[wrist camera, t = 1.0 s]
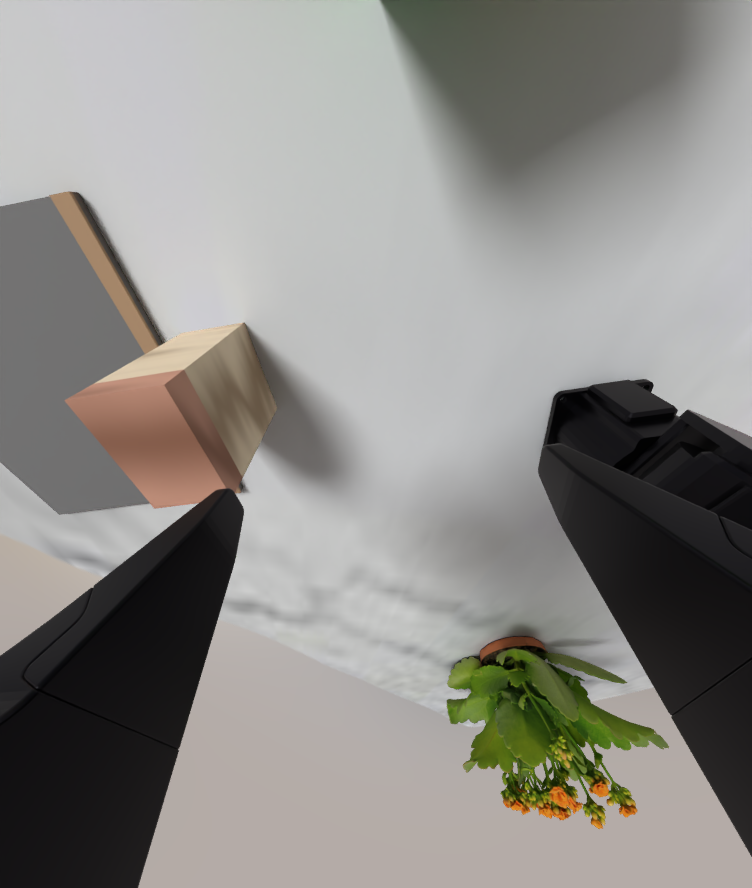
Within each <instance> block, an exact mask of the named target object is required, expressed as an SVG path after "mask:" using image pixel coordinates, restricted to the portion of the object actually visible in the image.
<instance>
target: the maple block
mask: <svg viewBox="0 0 752 888" xmlns="http://www.w3.org/2000/svg"><path fill="white" fill-rule="evenodd" d="M64 401H65V402H66V403H67V404H68V406H69V407H70V408H71V409H72V410H73V412H74V413H75V414H76V415H77V416H78V418H79V419H80V420H81V421H82V422H83V424H84V425H85V426H86V427H87V428H88V430H89V431H90V432H91V433H92V434H93V436H94V437H95V438H96V439H97V440H98V441H99V443H100V444H101V445H102V446H103V447H104V449H105V450H106V451H107V452H108V453H109V455H110V456H111V457H112V458H113V459H114V461H115V462H116V463H117V464H118V465H119V467H120V468H121V469H122V470H123V471H124V473H125V474H126V475H127V476H128V477H129V479H130V480H131V481H132V482H133V483H134V485H135V486H136V487H137V488H138V489H139V491H140V492H141V493H142V494H143V495H144V497H145V498H146V499H147V500H148V501H149V502H150V504H151V505H152V506H153V507H154V508H163V507H171V506H178V505H186V504H194V503H200V502H201V501H203V500H204V499H205V498H206V497H208V496H209V495H210V494H211V493H213V492H214V491H215V490H218V489H225V488H230V489H232V490H233V491H234V493H235V492H236V490H237V488H238V486H239V484H240V482H241V480H242V478H243V476H244V474H245V472H246V470H247V468H248V466H249V464H250V462H251V460H252V458H253V456H254V454H255V452H256V450H257V448H258V446H259V444H260V442H261V440H262V438H263V436H264V434H265V432H266V430H267V428H268V426H269V424H270V422H271V420H272V418H273V416H274V414H275V412H276V410H277V406H276V404H275V401H274V399H273V396H272V393H271V391H270V388H269V386H268V383H267V380H266V378H265V375H264V373H263V370H262V367H261V365H260V362H259V360H258V357H257V354H256V352H255V349H254V347H253V344H252V341H251V339H250V336H249V334H248V331H247V328H246V326H245V323H239V324H233V325H227V326H221V327H215V328H209V329H203V330H197V331H191V332H185V333H181V334H180V335H178V336H176V337H174V338H173V339H171V340H169V341H167V342H166V343H164V344H162V345H160V346H159V347H157V348H155V349H153V350H152V351H150V352H148V353H146V354H145V355H143V356H141V357H139V358H138V359H136V360H134V361H132V362H131V363H129V364H127V365H125V366H124V367H122V368H120V369H118V370H117V371H115V372H113V373H111V374H110V375H108V376H106V377H104V378H103V379H101V380H99V381H97V382H96V383H94V384H92V385H90V386H89V387H87V388H85V389H83V390H82V391H80V392H78V393H76V394H75V395H73V396H71V397H70V398H68V399H66V400H64Z"/></svg>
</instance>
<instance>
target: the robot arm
mask: <svg viewBox="0 0 752 888" xmlns="http://www.w3.org/2000/svg"><path fill="white" fill-rule="evenodd" d="M642 387H643V388H642ZM652 389H653V383H652V382H650V381H649V380H647V379H642V380H635V381H630V380H624V381H617V382H610V383H603V384H596V385H592V386H590V387H586V388H579V389H572V390H564V391H560V392H558V393H557V394H556V395H555V396H554V398H553V403H552V408H551V413H550V417H549V422H548V427H547V431H546V436H545V441H544V445H543V448H542V452H541V457H540V462H539V467H538V473H539V476H540V479H541V481H542V483H543V486H544V488H545V490H546V493H547V495H548V497H549V500H550V502H551V504H552V507H553V509H554V511H555V514H556V516H557V518H558V520H559V522H560V524H561V526H562V528H563V530H564V532H565V533H566V535H567V537H568V539H569V540H570V542H571V544H572V546H573V547H574V549H575V551H576V553H577V554H578V556H579V558H580V559H581V561H582V563H583V565H584V566H585V568H586V570H587V572H588V573H589V575H590V577H591V579H592V580H593V582H594V584H595V585H596V587H597V589H598V591H599V592H600V594H601V596H602V598H603V599H604V601H605V603H606V605H607V606H608V608H609V610H610V611H611V613H612V615H613V617H614V618H615V620H616V622H617V624H618V625H619V627H620V629H621V631H622V632H623V634H624V636H625V637H626V639H627V641H628V643H629V644H630V646H631V648H632V650H633V651H634V653H635V655H636V657H637V658H638V660H639V662H640V663H641V665H642V667H643V669H644V670H645V672H646V674H647V676H648V677H649V679H650V681H651V683H652V684H653V686H654V688H655V689H656V691H657V693H658V695H659V696H660V698H661V700H662V702H663V703H664V705H665V707H666V709H667V710H668V712H669V713H670V715H672V719H673V721H674V723H675V724H676V726H677V728H678V730H679V731H680V733H681V735H682V737H683V739H684V740H685V742H686V744H687V745H688V747H689V749H690V751H691V752H692V754H693V756H694V758H695V759H696V761H697V763H698V765H699V766H700V768H701V770H702V771H703V773H704V775H705V777H706V778H707V780H708V782H709V783H710V785H711V787H712V789H713V791H714V792H715V794H716V796H717V797H718V799H719V801H720V803H721V804H722V806H723V808H724V809H725V811H726V813H727V815H728V817H729V818H730V820H731V822H732V823H733V825H734V826H735V829H736V830H737V832H738V834H739V836H740V837H741V839H742V841H743V842H744V844H745V846H746V848H747V849H748V851H749V853H750V855H751V856H752V437H750V436H748V435H746V434H744V433H742V432H739V431H737V430H735V429H732V428H730V427H728V426H725V425H723V424H721V423H718V422H716V421H714V420H712V419H709V418H707V417H705V416H702V415H700V414H698V413H695V412H693V411H691V410H688V409H687V410H686V411H685V412H684V413H683V414H682V415H681V416H680V417H678V416H677V415H676V413H677V411H678V410H677V409H676V408H675V407H674V406H673V405H671V404H669V403H668V402H666V401H664V400H663V399H661V398H659V397H657V396H656V395H654V394H652V393H651V391H652ZM562 397H564V398H563V399H562V400H560V399H561V398H562ZM243 516H244V509H243V506H242V504H241V503H240V501H239V499H238V498H237V496H236V494H235V493H234V491H233V490H232V489H230V488H225V489H218V490H215V491H214V492H213V493H211V494H210V495H209V496H208V497H206V498H205V499H204V500H203V501H201V502H200V503H199V504H197V505H196V506H195V507H194V508H192V509H191V510H190V511H188V512H187V513H186V514H185V515H183V516H182V517H181V518H180V519H178V520H177V521H176V522H174V523H173V524H172V525H171V526H169V527H168V528H167V529H166V530H164V531H163V532H162V533H160V534H159V535H158V536H157V537H155V538H154V539H153V540H151V541H150V542H149V543H148V544H146V545H145V546H144V547H143V548H141V549H140V550H139V551H137V552H136V553H135V554H134V555H132V556H131V557H130V558H129V559H127V560H126V561H125V562H123V563H122V564H121V565H120V566H118V567H117V568H116V569H115V570H113V571H112V572H111V573H109V574H108V575H107V576H106V577H104V578H103V579H102V580H100V581H99V582H98V583H97V584H95V585H94V588H90V589H89V590H88V591H87V592H85V593H84V594H83V595H81V596H80V597H79V598H77V599H76V600H75V601H74V602H72V603H71V604H70V605H69V606H67V607H66V608H64V609H63V610H62V611H61V612H59V613H58V614H57V615H55V616H54V617H53V618H52V619H50V620H49V621H47V622H46V623H45V624H43V625H42V626H41V627H40V628H38V629H37V630H35V631H34V632H32V633H31V634H30V635H28V636H27V637H26V638H24V639H23V640H21V641H20V642H19V643H17V644H16V645H15V646H13V647H12V648H10V649H9V650H8V651H6V652H5V653H3V654H2V655H1V656H0V888H138V885H139V882H140V879H141V875H142V872H143V869H144V865H145V862H146V859H147V855H148V852H149V848H150V845H151V842H152V839H153V835H154V832H155V828H156V825H157V822H158V819H159V815H160V812H161V809H162V805H163V802H164V798H165V795H166V792H167V789H168V785H169V782H170V778H171V775H172V771H173V768H174V765H175V762H176V758H177V755H178V752H179V750H178V749H179V747H180V744H181V741H182V737H183V734H184V731H185V727H186V724H187V721H188V717H189V714H190V711H191V707H192V704H193V700H194V697H195V694H196V690H197V687H198V684H199V681H200V677H201V673H202V670H203V667H204V663H205V660H206V657H207V654H208V650H209V647H210V644H211V640H212V637H213V634H214V630H215V627H216V624H217V620H218V617H219V614H220V610H221V607H222V603H223V600H224V597H225V593H226V590H227V587H228V583H229V580H230V577H231V573H232V570H233V566H234V563H235V558H236V554H237V549H238V543H239V538H240V532H241V527H242V521H243Z"/></svg>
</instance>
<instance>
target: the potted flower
mask: <svg viewBox="0 0 752 888" xmlns="http://www.w3.org/2000/svg"><path fill="white" fill-rule="evenodd" d="M546 658H547V659H548V662H549V661H550V662H551V663H554V664H558V663H560V664H561V665H564V666H566V667H571V668H573V669H575V670H578V671H583V672H585V673H586V674H588V675H591V676H595V677H598V678H600V679H604V680H609V681H612V682H616V683H623V684H624V683H627V682H626V681H625V680H623V679H622V678H620V677H618V676H616V675H614V674H612V673H610V672H608V671H606V670H604V669H602V668H599V667H597V666H595V665H592V664H590V663H587V662H585V661H582V660H579V659H577V658H574V657H570V656H567V655H562V654H555V653H548V652H547V651H546V649H545V648H544V646H543V644H542V643H541V642H540V641H538V640H536V639H534V638H533V637H509V638H503V639H500V640H497V641H494V642H492V643H490V644H488V645H487V646H486V647H485V648H483V649H482V650H481V651H480V659H481V662H480V661H479V660H478V659H475V658H474V657H471V656H470V657H469V659H467V658H464V659H462V660H461V663H459V662H458V664H455V666H454V669H452V670H451V675H450V676H449V680H448V683H447V684H448V686H449V687H450V688H454V689H467V688H469V689H470V690H471V693H470V694H469V696H468V697H467V698H465V699H456V700H452V699H448V700H447V709H448V715H449V719H450V722H451V724H457V723H458V722H460V723H463V722H465V721H467V720H468V719H469V720H470V721H471V722H472V723H477V722H478V721H479V720H480V721H481V720H485V723H486V726H485V728H484V730H483V731H482V732H481V733H480V734H478V735H476V737H475V739H474V741H473V743H472V745H471V748H474V750H473V751H472V752H471V758H470V760H469V761H467V762H465V763H464V764H463V768H464V769H465V770H466V772H469V771H470V770H471V769H472V768H473V766H474V765H475V764H476V763H477V762H478V767H479V768H481V769H487V767H488V766H490V767H491V768H492V769H495V767H496V766H497V765H498V764H499V765H500V768H501V769H502V770H503V771H504V773H503V776H502V779H503V783H504V784H505V785H506V784H507V787H506V789H505V790H504V791H502V792H501V794H502V797H503V799H504V800H503V803H504V804H505V806H506V807H508V808H509V807H510V808H512V810H516V811H518V810H521V811H522V814H523V815H524V814H526V813H528V812H530V809H529V807H531V808H533V810H535V809H536V807H537V808H539V815H540V814H543V815H545V816H546V817H549V818H552V815H553V816H554V817H555V816H556V817H557V818H559V819H560V820H564V819H566V818H568V817H569V816H570V815H571V811H570V809H572V810H573V813H574V814H575V812H576V811H579V809H581V808H582V805H583V804H582V803H578V802H576V798H578V795H577V793H576V792H577V790H576V789H575V787H573V786H568V784H567V783H566V781H568V780H569V778H568V776H569V777H570V778H571V779H572V780H574V781H577V780H578V779H579V781H580V783H581V785H582V787H583V789H584V791H585V793H586V795H587V803H586V804H584V805H583V810H585V815H586V817H589V816H590V813H591V815H592V819H591V824H593V825H594V826H595V827H597V828H598V829H600V828H603V826H602V824H604V825H605V820H604V819H605V813H604V811H605V809H604V808H603V806H599V805H597V804H596V803H595V802H594V801H593V800H592V799H591V797H590V796H589V794H588V792H587V790H586V788H585V786H584V784H583V782H582V780H581V778H580V776H582V777H583V778H584V779H585V781H586V782H587V783H588V784H589V785H590V788H589V791H590V793H595V794H597V795H598V796H599V797H603V796H607V795H608V796H610V798H609V799H607V804H608V805H609V806H613V804H614V802H615V803H616V804H617V803H618V804H620V806H621V807H620V808H619V812H620V814H623V815H624V816H625V817H628V816H629V815H631V814H635V813H636V812H637V809H636V807H635V805H636V804H635V801H634V800H633V799H632V798H630V797H629V796H631V793H630V792H629V790H627V789H626V788H624V787H621V786H619V785H618V784H617V783H615V782H614V781H613V779H612V777H611V776H610V774H609V773H608V771H607V770H606V768H605V766H604V765H603V763H602V758H603V756H602V755H601V754H599V753H597V752H596V750H595V748H594V744H598V745H599V746H600V747H602V748H604V749H610V747H611V742H613V743H614V745H615V746H616V747H618V748H622V749H623V750H630V749H631V745H630V742H631V743H632V744H634V745H635V746H637V747H640V746H641V747H647V746H648V745H649V742H648V740H649V741H651V742H652V743H654V744H655V745H656V746H658V747H659V748H661V749H664V748H669V746H668V744H667V743H666V742H665V741H664V739H663V738H662V737H661V736H660V735H657V734H656V732H655V731H654V730H653V729H651V728H648V727H644V726H640V725H637V724H634V723H630V722H628V721H626V720H623V719H621V718H618V717H617V716H614V715H612V714H610V713H608V712H606V711H604V710H602V709H600V708H599V707H597V706H595V705H593V704H591V702H590V699H589V698H588V697H587V695H588V693H587V691H586V690H585V689H584V687H582V686H581V685H580V681H579V680H582V681H584V680H583V679H581V678H580V677H578V676H572V675H571V674H569V673H567V672H565V671H563V670H561V669H559V668H557V667H555V666H553V665H552V664H550V663H546V662H545V661H544V660H545V659H546ZM496 708H497V709H496ZM495 709H496V710H495ZM654 732H655V734H654ZM585 741H586V742H588V743H589V745H590V747H591V748H592V750H593V753H594V758H595V765H594V764H593V763H592V762H591V761H589V760H588V759H587V758H586V757H585V755H584V753H583V752H582V750H581V749H580V747H585ZM577 744H578V745H579V746H580V747H579V746H578V745H577ZM663 747H664V748H663ZM546 757H548V759H549V760H550V761H551V763H552V767H551V768H550V769H549V771H548V770H547V767H546ZM513 762H515V763H517V766H518V774H516V773H515V774H514V773H513ZM554 762H556V765H557V768H558V769H556V767H555V763H554ZM558 762H559V764H560V767H559V764H558ZM540 763H543V766H544V770H545V774H546V778H545V779H544V781H543V783H542V782H541V781H540V780H539V779H538V778H537V777H536V775H535V772H534V768H535V767H537V766H539V764H540ZM600 764H601V765H602V767H603V769H604V770H605V772H606V773H607V775H608V776H609V778H610V780H611V781H612V785H611V791H609V790H608V786H607V785H609V784H610V782H609V780H608V779H607V778H605V777H604V775H603V773H602V772H600V771H598V770H597V769H598V768H599V765H600ZM595 766H596V768H597V769H595V768H594V767H595ZM530 768H531V769H530ZM552 770H554V778H553V779H552V780H551V779H550V778H549V774H551V773H552ZM529 772H530V774H529ZM507 773H508V774H509V777H508V778H506V774H507ZM532 773H533V774H532ZM517 775H518V776H517ZM530 776H532V777H533V779H534V784H533V781H532V779H531V777H530ZM556 776H557V777H556ZM523 777H524V778H523ZM526 777H527V778H528V779H527V781H526V782H525V779H526ZM558 778H559V779H558ZM529 779H530V781H531V783H532V785H533V787H534V788H532V786H531V785H530V782H529ZM536 780H537V781H536ZM565 780H566V781H565ZM536 782H538V783H539V785H540V784H541V785H542V787H541V786H540V787H541V789H542V791H541V790H540V789H539V787H538V785H536ZM521 784H522V787H521V789H520V785H521ZM545 786H546V789H543V788H545ZM616 786H617V787H618V788H619V790H618V788H617V787H616ZM549 788H550V789H549ZM615 788H616V789H615ZM527 790H529V792H530V793H527ZM616 790H617V791H616ZM627 804H628V805H627ZM629 805H631V806H629ZM567 806H568V807H569V808H570V809H569V808H568V807H567ZM550 807H551V808H550ZM620 810H621V811H620ZM598 818H599V819H598ZM601 823H602V824H601Z"/></svg>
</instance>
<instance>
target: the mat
mask: <svg viewBox="0 0 752 888" xmlns="http://www.w3.org/2000/svg"><path fill="white" fill-rule="evenodd" d="M49 196H50V197H45V198H40V199H35V200H30V201H25V202H21V203H16V204H11V205H6V206H1V207H0V462H1V463H2V464H3V465H4V466H5V467H6V468H7V469H9V470H10V471H11V472H12V473H13V474H14V475H15V476H16V477H18V478H19V479H20V480H21V481H22V482H23V483H24V484H25V485H26V486H28V487H29V488H30V489H31V490H32V491H33V492H34V493H35V494H37V495H38V496H39V497H40V498H41V499H42V500H43V501H44V502H46V503H47V504H48V505H49V506H50V507H51V508H52V509H53V510H54V511H56V512H57V513H58V514H59V515H60V514H68V513H75V512H83V511H91V510H99V509H106V508H114V507H122V506H130V505H137V504H145V503H150V502H149V501H148V500H147V499H146V498H145V497H144V495H143V494H142V493H141V492H140V491H139V489H138V488H137V487H136V486H135V485H134V483H133V482H132V481H131V480H130V479H129V477H128V476H127V475H126V474H125V473H124V471H123V470H122V469H121V468H120V467H119V465H118V464H117V463H116V462H115V461H114V459H113V458H112V457H111V456H110V455H109V453H108V452H107V451H106V450H105V449H104V447H103V446H102V445H101V444H100V443H99V441H98V440H97V439H96V438H95V437H94V436H93V434H92V433H91V432H90V431H89V430H88V428H87V427H86V426H85V425H84V424H83V422H82V421H81V420H80V419H79V418H78V416H77V415H76V414H75V413H74V412H73V410H72V409H71V408H70V407H69V406H68V404H67V403H66V402H65V401H64V400H66V399H68V398H70V397H71V396H73V395H75V394H76V393H78V392H80V391H82V390H83V389H85V388H87V387H89V386H90V385H92V384H94V383H96V382H97V381H99V380H101V379H103V378H104V377H106V376H108V375H110V374H111V373H113V372H115V371H117V370H118V369H120V368H122V367H124V366H125V365H127V364H129V363H131V362H132V361H134V360H136V359H138V358H139V357H141V356H143V355H145V354H146V353H148V352H150V351H152V350H153V349H155V348H157V347H159V346H160V345H162V344H163V343H162V342H161V340H160V338H159V336H158V334H157V333H156V331H155V329H154V327H153V325H152V324H151V322H150V320H149V318H148V317H147V315H146V313H145V311H144V309H143V308H142V306H141V304H140V302H139V300H138V299H137V297H136V295H135V293H134V291H133V290H132V288H131V286H130V284H129V282H128V281H127V279H126V277H125V275H124V273H123V272H122V270H121V268H120V266H119V264H118V263H117V261H116V259H115V257H114V255H113V254H112V252H111V250H110V248H109V246H108V245H107V243H106V241H105V239H104V238H103V236H102V234H101V232H100V230H99V229H98V227H97V225H96V223H95V221H94V220H93V218H92V216H91V214H90V212H89V211H88V209H87V207H86V205H85V203H84V202H83V200H82V198H81V196H80V194H79V193H77V192H64V193H59V194H54V195H49ZM242 489H243V487H242V485H241V484H239V486H238V488H237V490H236V492H235V493H241V491H242Z"/></svg>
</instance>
